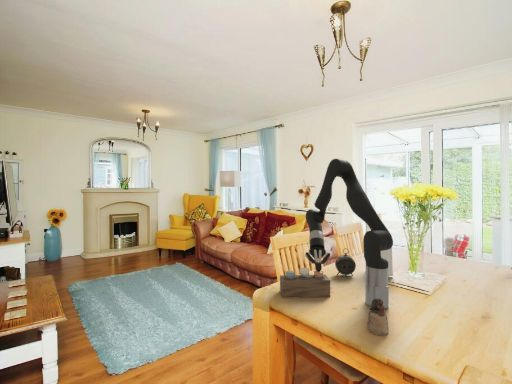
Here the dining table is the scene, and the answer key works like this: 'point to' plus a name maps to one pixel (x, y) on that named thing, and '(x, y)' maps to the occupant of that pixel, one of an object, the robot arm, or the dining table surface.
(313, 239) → the robot arm
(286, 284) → the button console
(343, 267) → the alarm clock
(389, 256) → the milk
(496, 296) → the dining table surface
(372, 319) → the figurine
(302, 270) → the cream button
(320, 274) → the terracotta button
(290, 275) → the slate button
